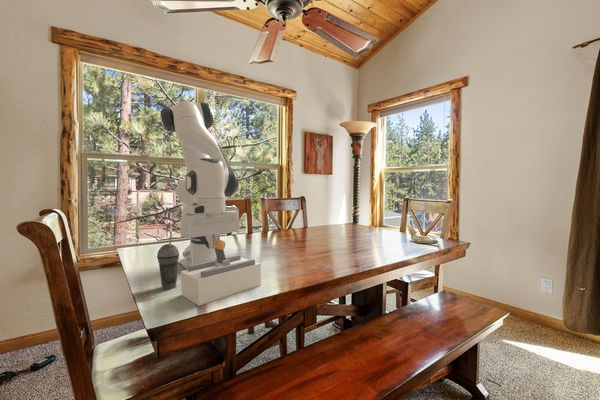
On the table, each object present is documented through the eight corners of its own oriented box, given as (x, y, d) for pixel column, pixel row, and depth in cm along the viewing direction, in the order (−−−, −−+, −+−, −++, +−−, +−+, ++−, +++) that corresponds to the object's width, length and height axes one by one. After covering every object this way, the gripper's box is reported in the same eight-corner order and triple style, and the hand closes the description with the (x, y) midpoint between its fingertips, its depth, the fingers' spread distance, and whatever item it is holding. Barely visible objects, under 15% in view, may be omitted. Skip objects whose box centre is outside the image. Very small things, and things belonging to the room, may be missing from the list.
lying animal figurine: (412, 239, 188) (412, 224, 188) (442, 245, 170) (442, 229, 169) (403, 240, 184) (403, 225, 183) (433, 247, 166) (433, 230, 165)
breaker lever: (214, 263, 100) (209, 240, 98) (222, 259, 102) (216, 237, 100) (222, 266, 96) (216, 242, 94) (229, 262, 98) (224, 239, 96)
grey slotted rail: (187, 270, 95) (187, 265, 95) (238, 258, 110) (238, 254, 110) (203, 277, 88) (203, 272, 88) (255, 264, 103) (255, 260, 102)
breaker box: (181, 294, 95) (180, 262, 94) (241, 277, 112) (241, 250, 112) (198, 305, 87) (198, 270, 86) (260, 285, 104) (260, 255, 103)
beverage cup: (162, 283, 105) (161, 230, 104) (183, 283, 106) (181, 230, 104) (154, 291, 98) (152, 233, 97) (176, 290, 99) (174, 233, 97)
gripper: (233, 204, 105) (234, 242, 105) (177, 208, 90) (178, 251, 91) (243, 205, 100) (243, 244, 101) (186, 209, 86) (187, 254, 86)
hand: (212, 247), depth 96 cm, fingers closed, pressing on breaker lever
